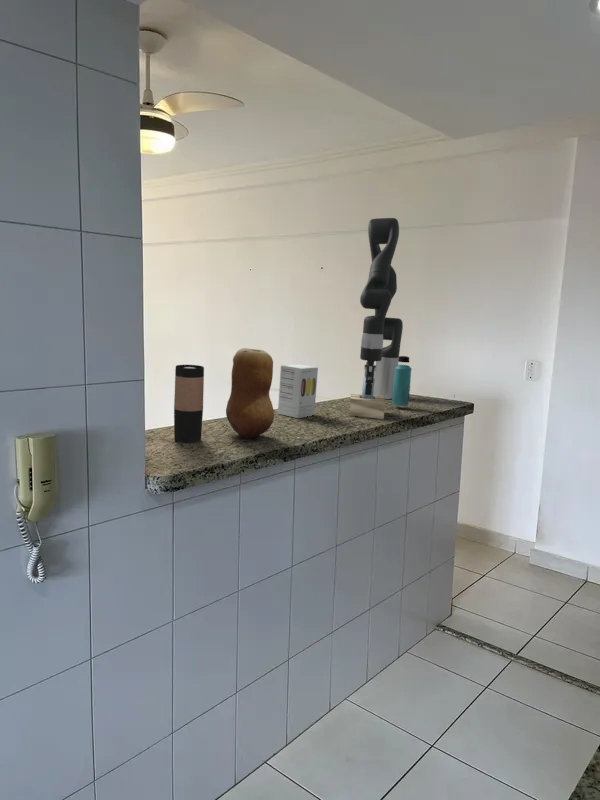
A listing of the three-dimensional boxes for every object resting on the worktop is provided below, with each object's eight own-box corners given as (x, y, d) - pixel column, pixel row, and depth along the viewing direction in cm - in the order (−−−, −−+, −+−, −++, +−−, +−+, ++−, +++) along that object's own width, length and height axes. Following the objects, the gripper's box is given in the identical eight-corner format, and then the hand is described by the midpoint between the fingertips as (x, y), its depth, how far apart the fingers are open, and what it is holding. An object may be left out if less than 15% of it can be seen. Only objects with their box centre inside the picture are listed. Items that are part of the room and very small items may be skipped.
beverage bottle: (409, 410, 224) (414, 357, 220) (392, 409, 224) (396, 356, 220) (406, 407, 230) (411, 355, 227) (389, 406, 230) (394, 354, 227)
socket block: (349, 409, 218) (350, 393, 217) (382, 412, 217) (383, 396, 216) (349, 416, 206) (350, 399, 205) (383, 418, 205) (385, 401, 204)
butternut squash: (282, 438, 168) (287, 351, 164) (245, 445, 159) (249, 352, 154) (250, 428, 178) (255, 345, 173) (214, 434, 168) (217, 346, 164)
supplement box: (297, 418, 196) (301, 368, 193) (276, 414, 202) (279, 364, 199) (315, 415, 204) (318, 366, 200) (294, 410, 209) (297, 363, 206)
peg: (360, 409, 213) (363, 376, 211) (371, 410, 213) (374, 377, 211) (360, 411, 210) (363, 378, 207) (371, 412, 209) (374, 379, 207)
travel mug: (167, 438, 161) (169, 365, 157) (191, 434, 166) (193, 364, 162) (183, 444, 155) (185, 369, 152) (207, 440, 161) (210, 367, 157)
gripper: (361, 344, 214) (357, 389, 217) (361, 347, 200) (357, 395, 203) (381, 345, 214) (377, 390, 217) (383, 349, 200) (379, 397, 203)
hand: (367, 392), depth 210 cm, fingers open, 7 cm apart
